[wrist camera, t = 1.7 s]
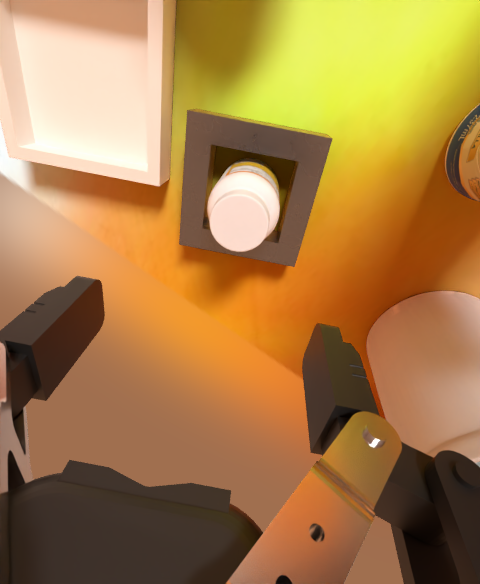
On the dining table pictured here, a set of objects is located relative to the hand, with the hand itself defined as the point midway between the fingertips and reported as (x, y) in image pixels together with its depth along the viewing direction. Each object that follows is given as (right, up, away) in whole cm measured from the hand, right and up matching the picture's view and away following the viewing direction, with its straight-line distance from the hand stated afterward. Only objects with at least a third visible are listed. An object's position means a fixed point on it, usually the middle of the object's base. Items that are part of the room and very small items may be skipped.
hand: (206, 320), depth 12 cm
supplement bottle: (+2, +11, +17) cm, 20 cm away
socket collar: (+2, +11, +17) cm, 20 cm away
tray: (-11, +18, +14) cm, 25 cm away
